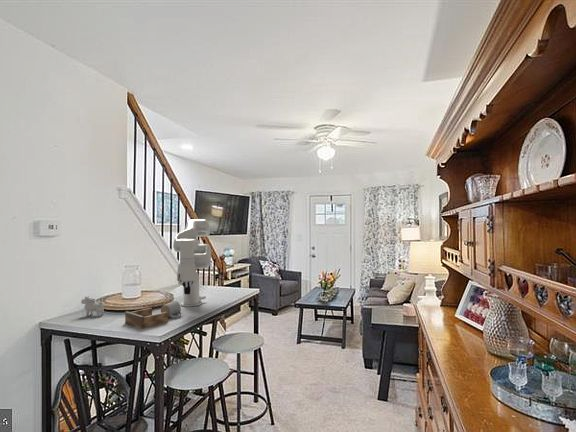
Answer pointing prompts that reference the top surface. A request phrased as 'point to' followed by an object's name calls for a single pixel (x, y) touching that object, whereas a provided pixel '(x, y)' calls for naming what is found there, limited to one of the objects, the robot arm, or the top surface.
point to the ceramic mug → (172, 309)
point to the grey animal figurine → (92, 306)
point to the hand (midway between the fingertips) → (187, 293)
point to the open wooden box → (145, 318)
